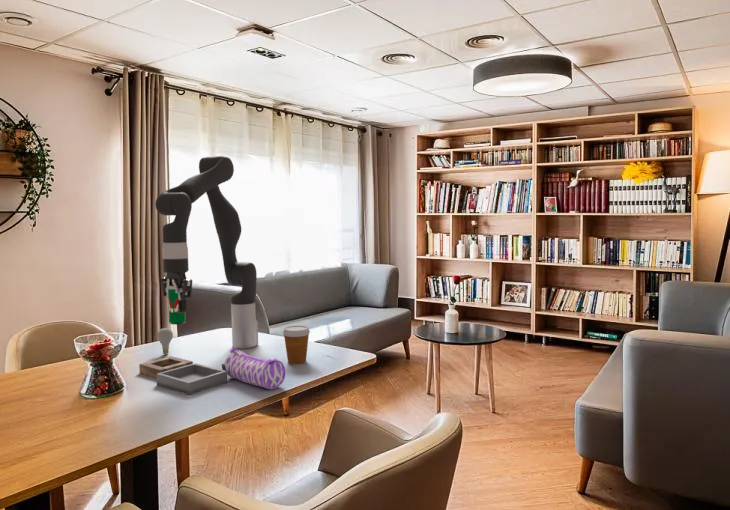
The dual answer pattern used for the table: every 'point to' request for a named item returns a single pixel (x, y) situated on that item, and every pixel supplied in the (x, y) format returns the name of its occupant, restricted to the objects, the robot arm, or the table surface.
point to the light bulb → (165, 339)
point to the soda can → (175, 307)
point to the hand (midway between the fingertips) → (177, 310)
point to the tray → (192, 378)
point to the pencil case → (254, 370)
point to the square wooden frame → (162, 365)
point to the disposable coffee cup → (296, 343)
